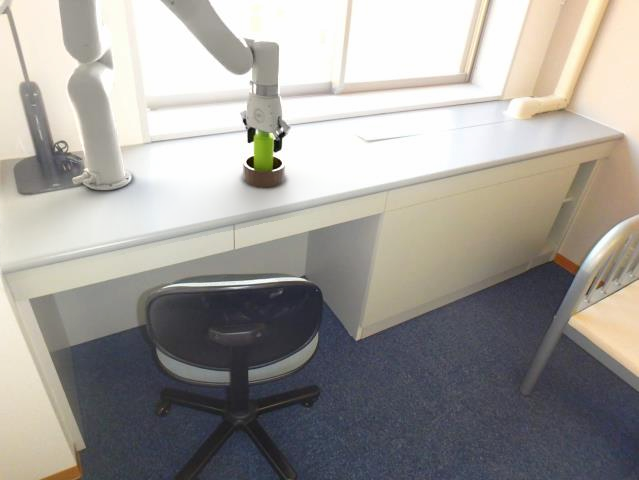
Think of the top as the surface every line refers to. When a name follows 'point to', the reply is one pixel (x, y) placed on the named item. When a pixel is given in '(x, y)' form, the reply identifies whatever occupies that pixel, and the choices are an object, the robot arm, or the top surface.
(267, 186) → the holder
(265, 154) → the soap dispenser
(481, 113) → the top surface
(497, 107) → the top surface
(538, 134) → the top surface
